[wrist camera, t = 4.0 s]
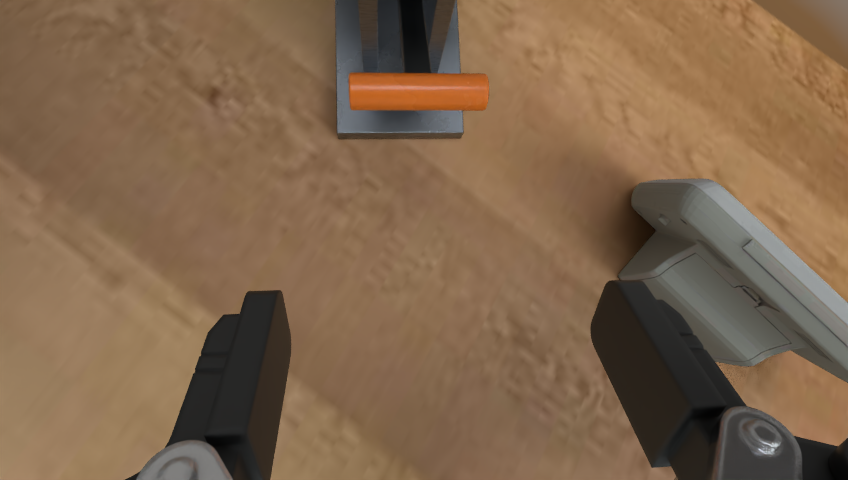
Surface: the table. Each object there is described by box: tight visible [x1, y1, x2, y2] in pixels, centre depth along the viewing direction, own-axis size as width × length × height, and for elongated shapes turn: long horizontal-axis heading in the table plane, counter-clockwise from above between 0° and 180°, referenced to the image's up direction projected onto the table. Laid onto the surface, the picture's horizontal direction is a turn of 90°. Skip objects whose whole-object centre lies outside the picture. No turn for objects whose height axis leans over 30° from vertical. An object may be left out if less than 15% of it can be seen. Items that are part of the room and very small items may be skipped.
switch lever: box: [349, 0, 489, 111], centre depth 22 cm, size 12×6×2 cm, turn 2°
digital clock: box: [618, 179, 848, 383], centre depth 30 cm, size 16×9×11 cm, turn 35°
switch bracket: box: [335, 0, 464, 139], centre depth 29 cm, size 11×9×13 cm
